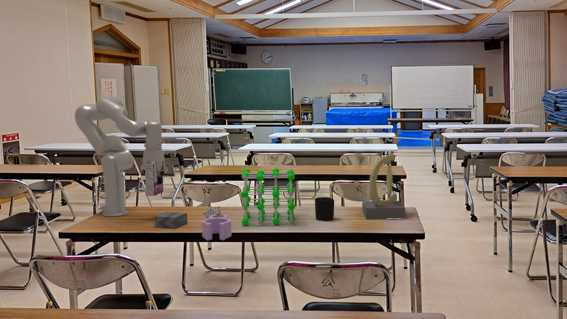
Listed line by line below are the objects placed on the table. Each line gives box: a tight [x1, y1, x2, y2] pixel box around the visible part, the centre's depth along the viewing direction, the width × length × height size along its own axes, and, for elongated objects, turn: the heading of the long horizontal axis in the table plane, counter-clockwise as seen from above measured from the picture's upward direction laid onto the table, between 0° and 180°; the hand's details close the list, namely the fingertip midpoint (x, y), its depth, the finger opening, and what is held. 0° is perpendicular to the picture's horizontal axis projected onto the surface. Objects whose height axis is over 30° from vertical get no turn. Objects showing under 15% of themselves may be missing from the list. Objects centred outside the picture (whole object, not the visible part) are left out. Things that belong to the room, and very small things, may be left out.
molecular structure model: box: [240, 167, 296, 227], centre depth 293 cm, size 24×25×24 cm
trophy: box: [361, 153, 406, 220], centre depth 301 cm, size 19×19×30 cm
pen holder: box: [314, 196, 335, 222], centre depth 295 cm, size 9×9×10 cm
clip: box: [201, 214, 232, 241], centre depth 267 cm, size 20×12×7 cm, turn 1°
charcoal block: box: [154, 211, 188, 230], centre depth 287 cm, size 11×11×5 cm
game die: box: [202, 205, 223, 219], centre depth 290 cm, size 9×8×10 cm
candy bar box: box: [144, 161, 164, 197], centre depth 299 cm, size 11×5×16 cm, turn 168°
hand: (154, 183), depth 300 cm, fingers closed on candy bar box, 5 cm apart
